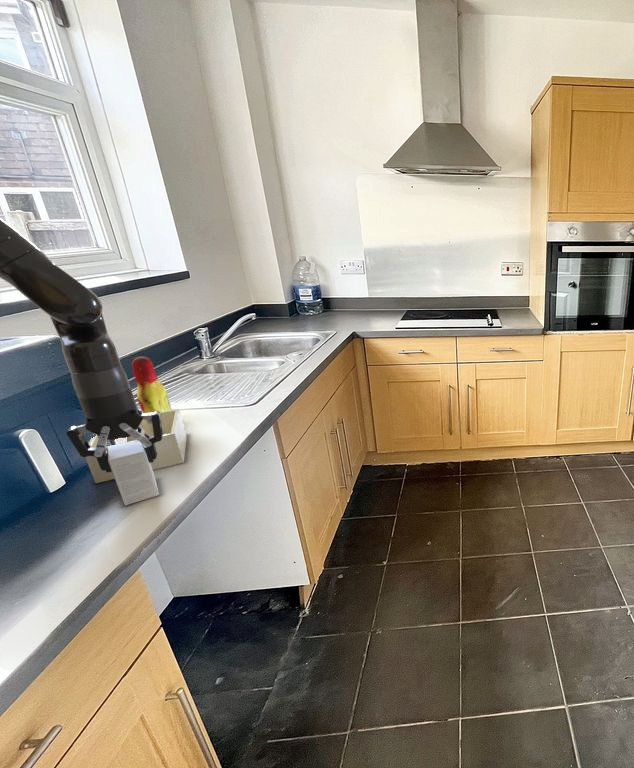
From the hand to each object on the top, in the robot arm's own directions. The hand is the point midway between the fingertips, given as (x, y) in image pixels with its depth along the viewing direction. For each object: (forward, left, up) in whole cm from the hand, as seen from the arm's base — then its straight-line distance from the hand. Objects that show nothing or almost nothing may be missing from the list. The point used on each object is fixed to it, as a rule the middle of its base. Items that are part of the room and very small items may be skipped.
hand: (131, 465), depth 86 cm
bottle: (0, +42, -7) cm, 43 cm away
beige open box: (-1, +19, -7) cm, 20 cm away
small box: (0, 0, -7) cm, 7 cm away
